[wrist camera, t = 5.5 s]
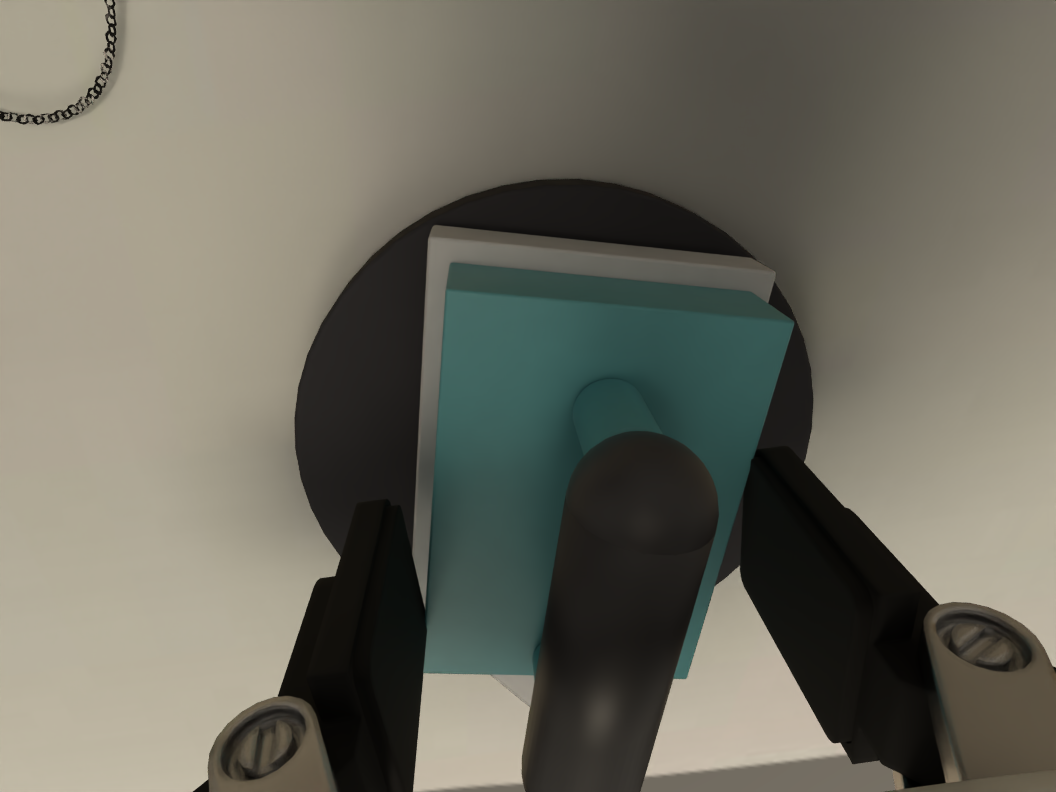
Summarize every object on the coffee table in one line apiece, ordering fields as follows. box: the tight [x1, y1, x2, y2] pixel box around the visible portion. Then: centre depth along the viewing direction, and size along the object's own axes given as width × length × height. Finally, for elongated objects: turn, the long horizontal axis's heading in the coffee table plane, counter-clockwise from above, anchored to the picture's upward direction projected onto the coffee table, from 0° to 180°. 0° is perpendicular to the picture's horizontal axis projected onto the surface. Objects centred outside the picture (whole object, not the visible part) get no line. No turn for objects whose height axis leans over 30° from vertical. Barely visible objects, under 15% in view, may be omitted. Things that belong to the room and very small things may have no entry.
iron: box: [412, 225, 794, 792], centre depth 12 cm, size 12×6×6 cm, turn 173°
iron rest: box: [295, 179, 813, 585], centre depth 15 cm, size 12×12×1 cm
